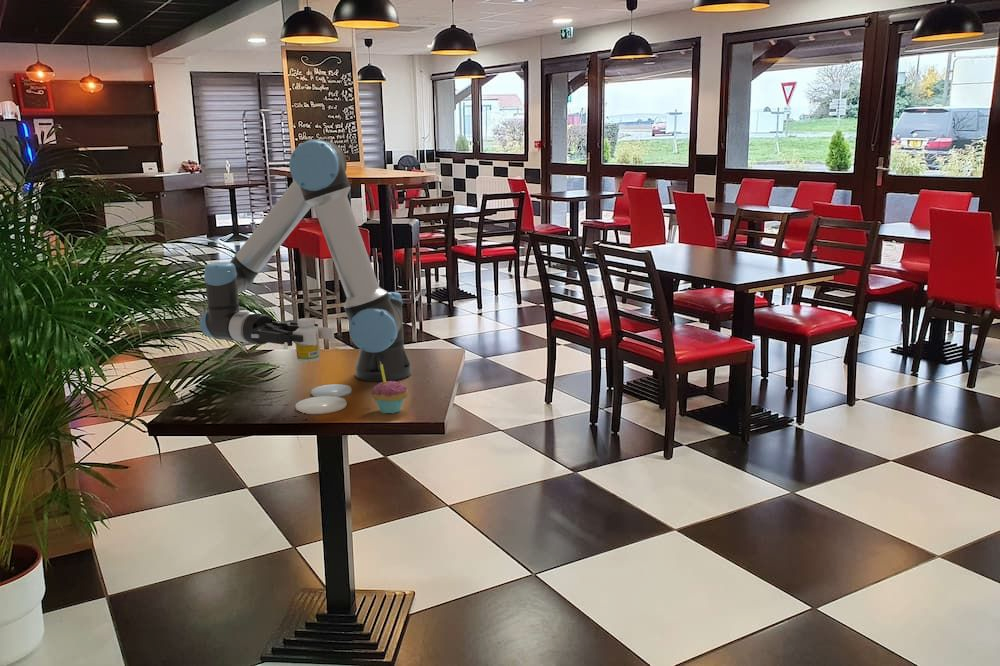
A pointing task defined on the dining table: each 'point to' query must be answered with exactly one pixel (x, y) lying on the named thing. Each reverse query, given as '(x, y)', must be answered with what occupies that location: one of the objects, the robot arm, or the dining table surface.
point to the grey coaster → (331, 390)
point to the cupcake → (389, 394)
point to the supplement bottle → (308, 351)
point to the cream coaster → (321, 405)
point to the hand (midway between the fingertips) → (323, 336)
